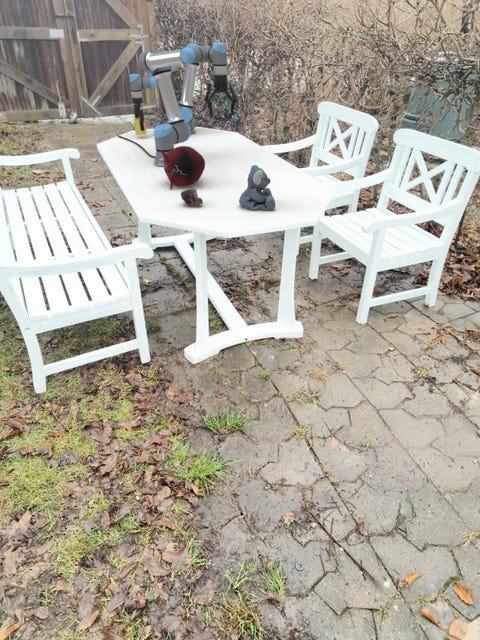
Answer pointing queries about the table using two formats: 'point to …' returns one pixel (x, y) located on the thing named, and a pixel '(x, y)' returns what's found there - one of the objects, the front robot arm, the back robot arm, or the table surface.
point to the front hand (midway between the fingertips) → (221, 114)
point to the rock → (191, 197)
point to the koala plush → (257, 191)
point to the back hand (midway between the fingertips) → (140, 129)
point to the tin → (137, 127)
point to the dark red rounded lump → (183, 165)
